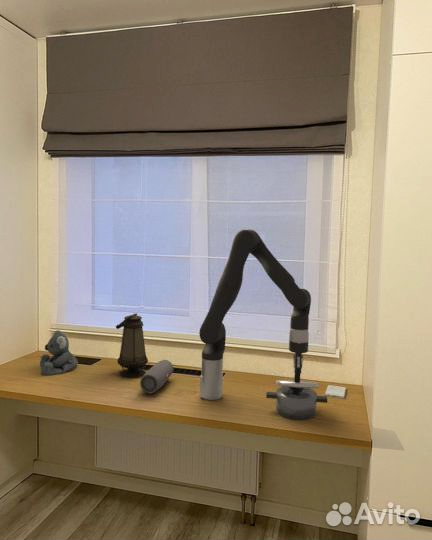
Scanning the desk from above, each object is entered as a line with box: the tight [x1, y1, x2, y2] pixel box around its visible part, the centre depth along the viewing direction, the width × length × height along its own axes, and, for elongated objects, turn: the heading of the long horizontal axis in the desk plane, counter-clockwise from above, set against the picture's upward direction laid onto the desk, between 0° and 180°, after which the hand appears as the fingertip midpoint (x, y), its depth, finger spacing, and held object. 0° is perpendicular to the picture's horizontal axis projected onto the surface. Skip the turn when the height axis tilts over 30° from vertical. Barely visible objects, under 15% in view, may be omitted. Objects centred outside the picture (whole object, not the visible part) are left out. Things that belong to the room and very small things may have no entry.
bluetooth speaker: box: [139, 359, 174, 394], centre depth 202 cm, size 23×9×10 cm, turn 168°
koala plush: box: [39, 329, 79, 376], centre depth 223 cm, size 17×18×20 cm
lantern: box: [115, 313, 149, 379], centre depth 219 cm, size 18×15×30 cm
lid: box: [275, 379, 320, 389], centre depth 179 cm, size 17×18×4 cm
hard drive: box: [324, 384, 347, 399], centre depth 201 cm, size 2×8×12 cm
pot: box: [265, 386, 328, 421], centre depth 178 cm, size 24×16×8 cm, turn 81°
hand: (297, 381), depth 177 cm, fingers closed
